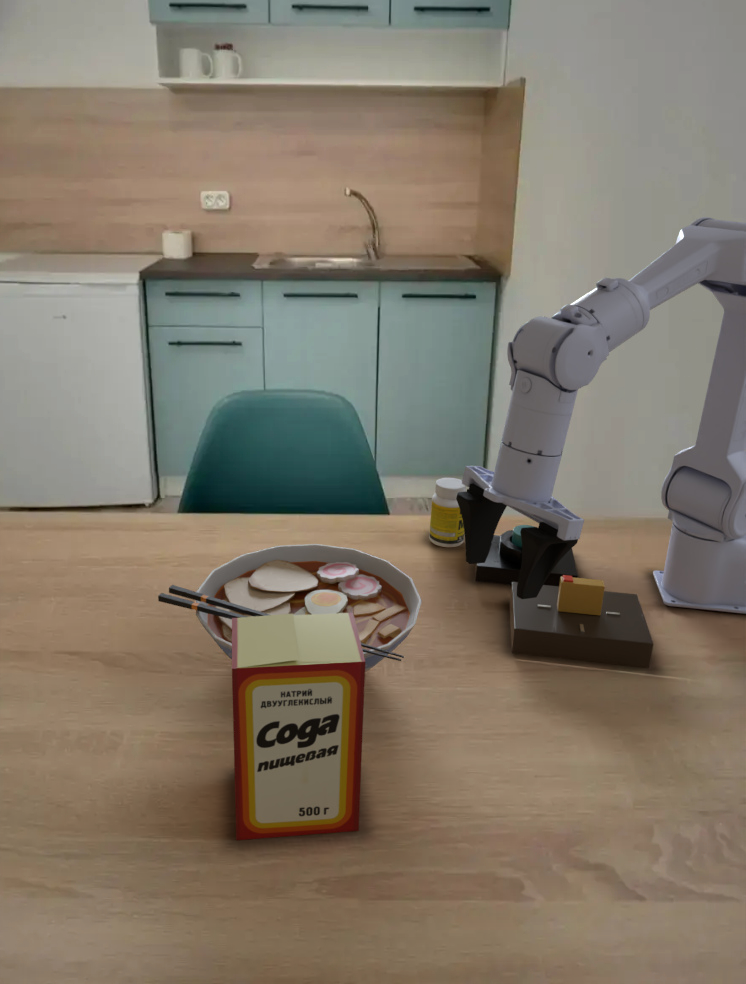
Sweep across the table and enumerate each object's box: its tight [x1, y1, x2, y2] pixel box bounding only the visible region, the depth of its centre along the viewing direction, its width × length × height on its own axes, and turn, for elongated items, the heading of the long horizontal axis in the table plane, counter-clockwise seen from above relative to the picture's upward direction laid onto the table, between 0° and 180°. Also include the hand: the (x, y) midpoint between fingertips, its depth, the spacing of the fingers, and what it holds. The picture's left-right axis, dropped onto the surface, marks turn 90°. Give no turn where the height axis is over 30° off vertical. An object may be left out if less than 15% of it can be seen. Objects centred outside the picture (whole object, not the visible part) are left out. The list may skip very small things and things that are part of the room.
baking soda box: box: [231, 613, 366, 841], centre depth 64 cm, size 10×6×16 cm
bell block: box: [474, 529, 579, 586], centre depth 104 cm, size 12×9×4 cm
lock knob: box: [557, 575, 606, 616], centre depth 90 cm, size 4×1×4 cm, turn 81°
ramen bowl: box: [157, 543, 423, 673], centre depth 85 cm, size 25×23×8 cm
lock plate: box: [508, 582, 654, 669], centre depth 91 cm, size 14×10×3 cm
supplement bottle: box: [428, 477, 467, 548], centre depth 111 cm, size 5×5×8 cm
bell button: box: [512, 524, 535, 548], centre depth 104 cm, size 4×4×2 cm
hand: (500, 578), depth 81 cm, fingers open, 7 cm apart
